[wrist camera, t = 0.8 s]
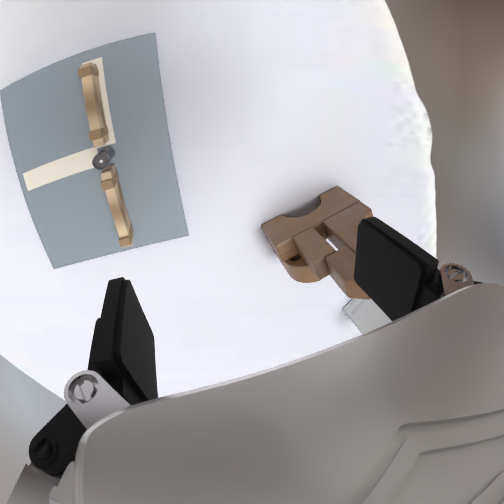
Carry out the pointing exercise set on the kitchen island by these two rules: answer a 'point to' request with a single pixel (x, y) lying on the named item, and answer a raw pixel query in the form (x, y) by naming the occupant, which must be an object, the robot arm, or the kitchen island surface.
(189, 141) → the kitchen island surface
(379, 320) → the skincare box
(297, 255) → the wooden toy
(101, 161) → the fence post
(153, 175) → the board
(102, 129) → the fixed fence rail
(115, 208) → the tan wooden bar
